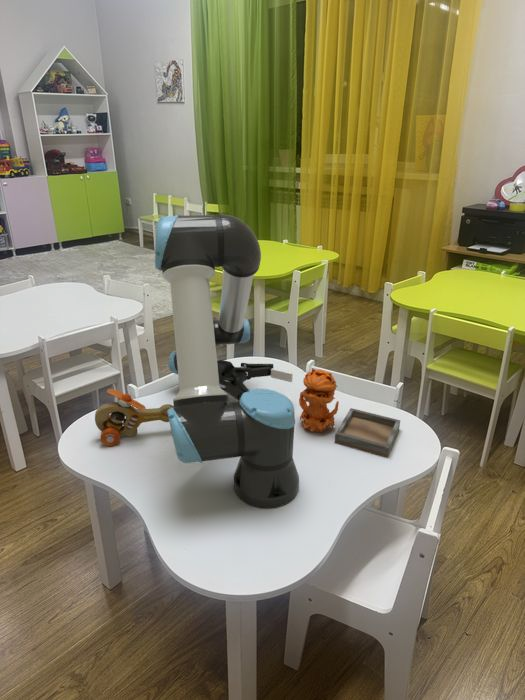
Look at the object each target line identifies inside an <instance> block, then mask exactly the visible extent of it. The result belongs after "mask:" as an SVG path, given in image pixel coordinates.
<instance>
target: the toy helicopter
mask: <svg viewBox="0 0 525 700" xmlns="http://www.w3.org/2000/svg"><path fill="white" fill-rule="evenodd" d="M106 393H107V394H108V395H111V396H113V397H115V398H118V399H117V401H114V402H113V401H112V402H107V403H105V404H102V405H101V406H99V407H98V408H96V411H95V414H94V421H95V422H94V423H95V425H96V427H97V429H98V430H99V431H100V432H101V434H100V442H101V443H102V445H104V446H105V447H114V446H116V445H117V444H119V442H120V441H121V437H124V436H129V437H132V438H133V437H136V436H137V435H138V428H139V426H140V425H141V424H143V423H149V422H150V423H151V422H154V421H161V422H164V423H170V422H169V418H168V413H167V411H168V409H170V408H173V409H174V404H170V403H165V404H163V405H160V407H157V408H155V407H154V408H146V406H145V405H144V404H142V403H140V402H139V401H137V400H136V399H133V398H132V396H131V395H130V394H129V393H123V392H120V391H118V390H117V389H114V388H108V389H107V390H106Z"/></svg>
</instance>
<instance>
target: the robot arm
mask: <svg viewBox="0 0 525 700" xmlns="http://www.w3.org/2000/svg"><path fill="white" fill-rule="evenodd" d="M156 223H157V224H156V231H155V248H154V249H155V251H154V267H155V269H156V270H158V271H162V272H161V273H162V278H163V280H164V281H166V282H167V283H169V286H170V297H171V306H172V308H171V309H172V317H173V329H174V331H173V333H174V341H175V342H174V343H175V344H174V345H175V350H173V351H172V352H171V353H170V355H169V357H168V359H169V360H168V361H167V367H168V370H169V371H170V372H171V373H172V374H175V375H177V376H178V377H177V378H178V386H179V388H178V389H179V391H178V393H177V395H175V397H174V398H173V400H172V403H173V404H172V405H173V406H174V409H173V408H170V409H168V411H167V413H168V418H169V422H168V423H169V427H170V430H171V431H170V432H171V436H172V440H173V445H174V449H175V454H176V457H177V459H178V460H179V462H181V463H184V464H190V463H200V464H201V463H203V462H209V461H218V460H224V459H225V460H226V459H233V458H239V457H240V458H239V461H238V464H237V466H236V467H235V468H236V469H235V471H234V473H233V477H232V478H233V491H234V493H235V495H236V496H237V497H238V499H240V500H241V501H242V502H244V503H245V504H247V505H249V506H252V507H256V508H261V509H262V508H263V509H264V508H265V509H271V508H278V507H282V506H284V505H286V504H288V503H290V502H291V501H292V500H293V499H294V498H295V497H296V496H297V494H298V492H299V488H300V487H299V486H300V475H299V473H298V470H297V467H296V464H295V463H296V462H295V460H294V458H293V455H294V436H295V435H294V433H295V424H296V418H295V417H296V416H295V407H294V404H293V402H292V400H291V399H290V398H288V396H286V395H285V394H282V393H281V392H278V391H276V390H272V389H267V388H250V389H249V388H248V387H247V386H246V385H245V384H244V383H245V382H246V381H248V380H251V379H252V378H253V379H254V378H261V377H270V378H272V379H276V380H281V381H284V382H289V383H293V372H289V371H285V370H282V369H278V368H274V364H273V363H247V362H241V363H240V366H237V367H236V366H234V365H233V363H232V362H231V361H228V360H225V359H220V358H218V357H217V348H216V346H222V345H223V346H224V345H239V344H244V343H247V342H249V341H250V339H251V328H250V327H251V325H250V322H249V319H247V318H246V316H247V311H248V306H249V299H250V294H251V291H252V285H253V280H254V276H255V274H256V273H257V272H258V271H259V269H260V265H261V259H262V252H261V246H260V242H259V240H258V238H257V236H256V235H255V233H254V231H253V230H252V228H250V226H249V225H248V224H246V222H244V220H241V219H240V218H238V217H236V216H234V215H230V214H224V213H222V214H197V215H196V214H195V215H194V214H193V215H187V214H186V215H181V214H176V215H167V216H162V217H160V218H159V219H158V221H157V222H156ZM216 268H222V270H223V275H222V283H221V284H222V285H221V293H220V294H221V295H220V303H219V313H218V319H214V318H213V307H212V306H213V305H212V298H211V297H212V296H211V288H210V286H211V285H210V281H211V279H212V278H213V277H214V276H215V274H216ZM228 394H229V395H230V396H231V397H233V398H234V399H236V400H237V401H233V402H229V397H228Z"/></svg>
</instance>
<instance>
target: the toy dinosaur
mask: <svg viewBox="0 0 525 700" xmlns="http://www.w3.org/2000/svg"><path fill="white" fill-rule="evenodd" d="M304 376H305V377H304V378H303V381H302V382H303V385H304V387H306V388H305V389H303V391H301V392H300V393H299V399H298V403H299V406H300V408H301V409H302V411H301V414H300V416H299V421H302V425H303V429H304V430H306V429H308V430H309V431H311V433H313V432H315V433H320V432H324V431H325V430H327V428H328V426H329V427H330V428H331V429H332V430H333V429H334V426H335V415H337V413H338V411H339V402H340V401H339V400H337V401H336V403H335V406H334V409H333V410H331V411H330V409H329V408H328V404H331V403H332V402H333V401H334V400H335V398H336V397H334V396H335V392H336V389H337V387H338V385H337V381H336V379H335V377H334V376H333V374H332V373H331V372H329V371H326V370H322V369H315V368H314V367H312V368H311V371H308V372H307V373H306V374H305V375H304Z"/></svg>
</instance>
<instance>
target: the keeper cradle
mask: <svg viewBox="0 0 525 700" xmlns="http://www.w3.org/2000/svg"><path fill="white" fill-rule="evenodd" d="M400 426H401V419H397V418H393V417H388V416H384V415H380V414H377V413H371V412H369V411H368V412H367V411H365V410H360V409H356V408H352V407H350V409H349V410H348V411H347V413H346V415H345V417H344V418H343V420H342V422H341V423H340V425H339V426H338V429H336V432H335V435H334V444H337V445H341V446H345V447H348V448H352V449H355V450H358V451H362V452H366V453H370V454H373V455H376V456H380V457H383V458H387V459H388V458H389V456H390V453H391V451H392V448H393V445H394V443H395V441H396V438H397V436H398V433H399V430H400Z"/></svg>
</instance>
